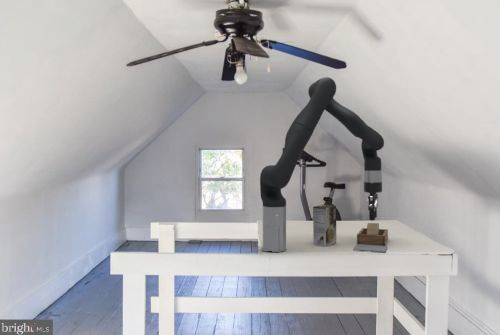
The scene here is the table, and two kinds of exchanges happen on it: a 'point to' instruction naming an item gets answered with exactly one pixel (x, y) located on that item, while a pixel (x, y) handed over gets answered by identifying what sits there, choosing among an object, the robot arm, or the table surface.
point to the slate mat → (371, 248)
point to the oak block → (373, 229)
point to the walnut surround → (372, 237)
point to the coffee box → (324, 225)
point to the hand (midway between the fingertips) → (373, 218)
